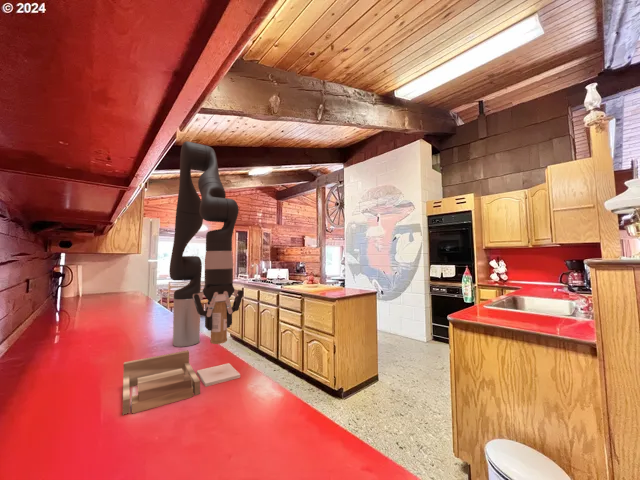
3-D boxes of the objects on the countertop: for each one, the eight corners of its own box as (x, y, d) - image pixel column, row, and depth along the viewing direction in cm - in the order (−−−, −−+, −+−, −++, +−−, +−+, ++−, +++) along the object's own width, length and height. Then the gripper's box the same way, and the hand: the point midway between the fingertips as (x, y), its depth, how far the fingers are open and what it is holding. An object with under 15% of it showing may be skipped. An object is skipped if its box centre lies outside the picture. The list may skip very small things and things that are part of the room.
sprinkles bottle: (230, 341, 78) (230, 293, 79) (216, 345, 74) (216, 295, 75) (220, 338, 81) (221, 292, 81) (206, 342, 77) (206, 293, 78)
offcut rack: (123, 386, 71) (123, 362, 71) (187, 371, 80) (188, 350, 80) (122, 416, 58) (123, 386, 58) (200, 394, 66) (200, 368, 67)
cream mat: (197, 373, 78) (197, 370, 78) (229, 365, 84) (229, 363, 84) (205, 386, 70) (205, 383, 70) (240, 377, 75) (240, 374, 75)
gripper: (239, 266, 86) (239, 322, 85) (189, 267, 78) (188, 329, 77) (248, 266, 80) (248, 327, 79) (194, 268, 72) (193, 336, 71)
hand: (218, 328), depth 78 cm, fingers closed on sprinkles bottle, 4 cm apart
